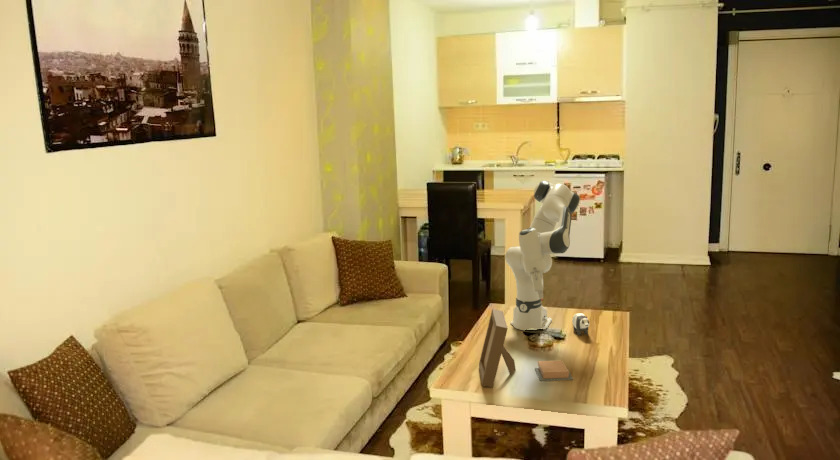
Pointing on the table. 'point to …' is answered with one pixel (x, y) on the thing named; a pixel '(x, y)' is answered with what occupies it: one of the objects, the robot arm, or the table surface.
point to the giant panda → (580, 323)
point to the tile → (553, 369)
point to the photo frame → (494, 349)
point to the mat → (551, 378)
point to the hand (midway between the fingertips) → (541, 298)
